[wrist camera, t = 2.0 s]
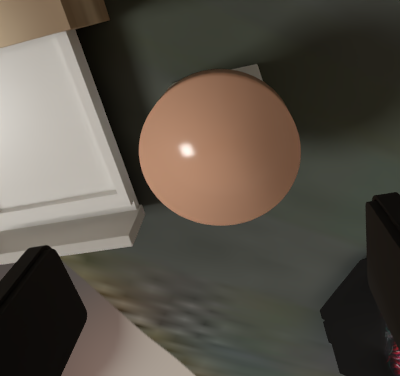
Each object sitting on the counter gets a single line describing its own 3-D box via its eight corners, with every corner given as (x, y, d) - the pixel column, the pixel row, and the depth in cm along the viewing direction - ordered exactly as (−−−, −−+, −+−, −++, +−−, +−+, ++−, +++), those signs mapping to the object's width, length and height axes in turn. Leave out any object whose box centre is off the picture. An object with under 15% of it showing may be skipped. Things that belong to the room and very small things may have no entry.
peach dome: (285, 51, 15) (290, 58, 14) (302, 196, 18) (308, 213, 17) (126, 88, 16) (116, 97, 15) (168, 217, 20) (163, 234, 18)
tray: (59, -25, 18) (23, -28, 15) (145, 214, 24) (132, 245, 21) (-118, 28, 20) (-181, 35, 17) (6, 236, 26) (-24, 267, 23)
